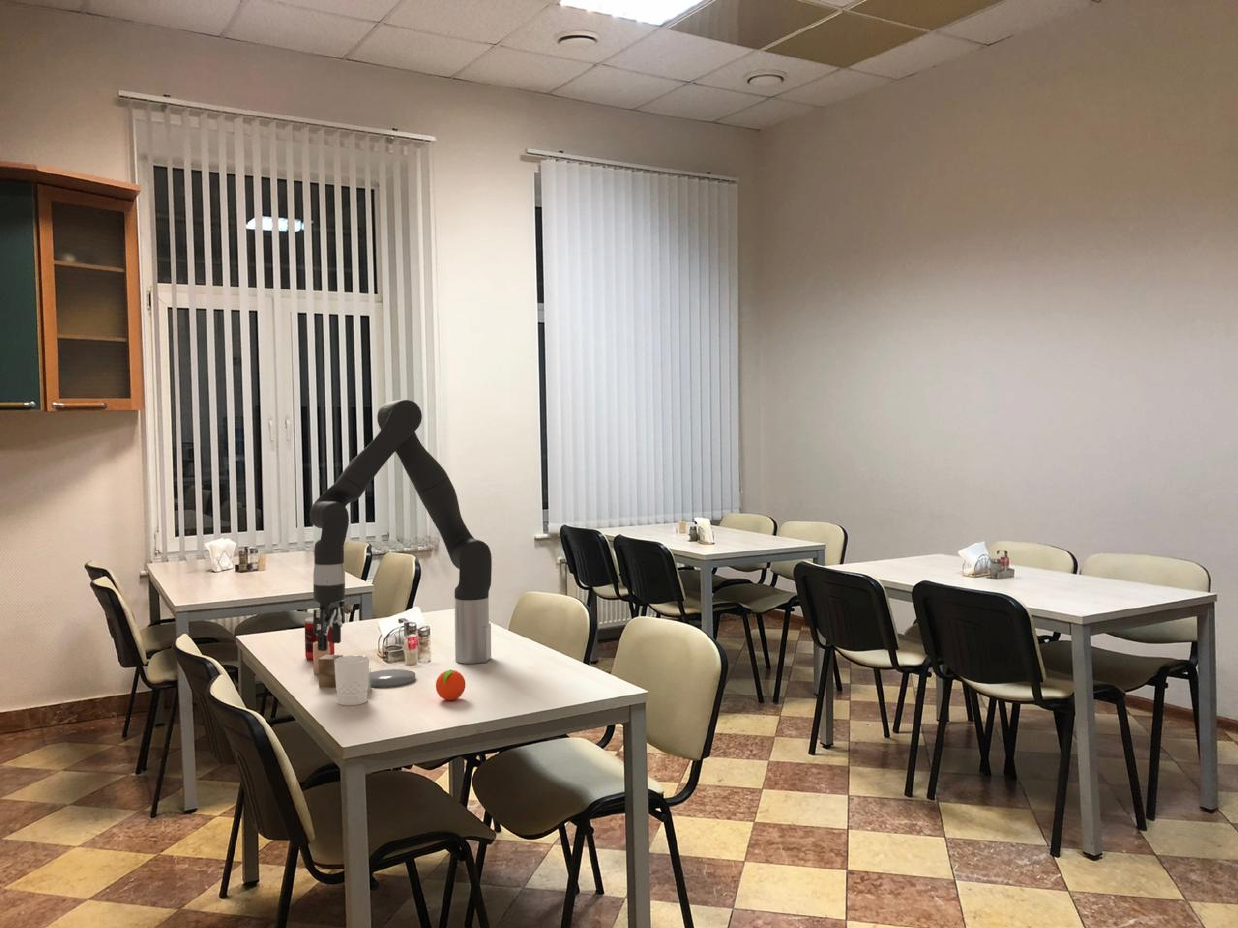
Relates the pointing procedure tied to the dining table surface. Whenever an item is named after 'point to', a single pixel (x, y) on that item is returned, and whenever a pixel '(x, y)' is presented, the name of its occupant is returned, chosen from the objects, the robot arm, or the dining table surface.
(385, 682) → the slate coaster
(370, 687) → the sage cube
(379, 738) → the dining table surface
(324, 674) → the walnut block
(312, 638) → the canned food
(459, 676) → the clementine
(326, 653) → the cylinder
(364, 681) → the white cup
